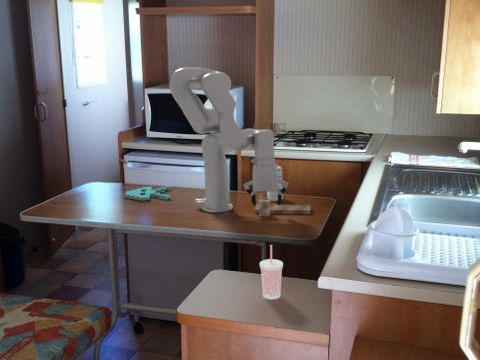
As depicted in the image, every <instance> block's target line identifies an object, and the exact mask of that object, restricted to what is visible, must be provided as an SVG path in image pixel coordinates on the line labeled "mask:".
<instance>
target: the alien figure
mask: <svg viewBox="0 0 480 360" xmlns="http://www.w3.org/2000/svg"><path fill="white" fill-rule="evenodd" d="M166 189H172V188H171V185H167V186H166V185H165V187H164V186H163V187H160V188H155V189H153V187H152V186H142V187H141V188H140V187H138V188H136V189H131V190H127V191H126V192H125V196H130V197H135V198H139V199H145V200H148V199H149V200H150V201H151V197H150V196H155V197H160V198H165V199H170V200H171V195H170V194H164V193H163V194H162V192H161V191H166ZM156 192H161V193H156ZM166 192H167V191H166ZM155 197H154V198H155ZM160 198H159V199H160ZM165 199H164V200H165Z"/></svg>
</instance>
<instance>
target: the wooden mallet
mask: <svg viewBox="0 0 480 360" xmlns="http://www.w3.org/2000/svg"><path fill="white" fill-rule="evenodd" d="M258 204H259V214H258V215H259V217H270V215H271V214H270V205H271V201H270V200H269V199H259V200H258Z"/></svg>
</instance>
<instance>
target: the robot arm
mask: <svg viewBox="0 0 480 360" xmlns="http://www.w3.org/2000/svg"><path fill="white" fill-rule="evenodd" d="M231 87H232V80H231V78H230V76H229V75H228V74H227V73H225V72H224V71H223V72H221V71H217V70H214V69H209V68H206V67H200V66H195V67H193V66H192V67H181V68H179V69H178V68H177V70H175V71H174V72H173V73H172V75H171V77H170V80H169V89H170V93H171V95H172V97H173V99H174V101H176V103H177V104H178V107H179V108H180V109H181V110H182V112H183V115H184V116H185V118H186V119H187V121H188V122H189V124H190V126H191V127H192V129H193V131H194V132H195V133H197V134H201V135H202V134H207V135H205V136H204V137H203V139H202V140H201V141H202V142H201V145H200V146H201V152H202V157H203V165H204V166H203V167H204V187H205V188H204V189H205V190H204V191H205V193H204V194H205V197H204V198H195V202H194V203H195V204H197V205H202V207H201V208H202V210H203V211H204V212H207V213H215V214H216V213H225V212H229V211H231V210H233V206H234V205H233V204H232V203H230V202H229V201H230V199H229V197H230V196H229V195H230V194H229V193H230V192H229V167H228V161H227V158H226V154H228V153H232V152H233V151H238V152H239V151H240V152H241V151H244V150H248V149H251V148H253V149H254V150H253V151H254V158H253V159H250V162H251V163H252V164H254V165H253V167H252V180H249V181H247V182H246V183H244V184H243V187H244V190H246V192H247V193H248V194H249V195H250V196H251V197H250V198H251V204H253V207H256V204H257V198H256V197H257V196H256V193H262V192H266V193H267V192H268V191H276V192H277V193H278V201H277V203H278V204H277V205H281V203H283V200H282V194H284V192H286V190H287V189H288V186H289V182H287V181H285V180H283V179H282V180H281V179H279V176H278V169H277V166H278V165H277V164H276V163H275V144H274V143H275V142H274V141H275V139H274V132H273V130H271V129H265V128H263V129H255V128H244V129H240V127H239V126H238V124H237V123H236V120H235V117H234V112H235V109H236V107H237V102H236V100H235V98H234V96H233V95H232V94H231V92H230V89H231ZM192 89H201V90H202V91H203V93H204V95H205V96H206V98H207V99H208V101H209V102H210V104H211V105H212V108H207V107H205V106H204V104H203V102H202V100H201V99H200V97H199V96H198V95H197V94H196V93H194V91H192ZM279 183H281V184H282V187H283V188H282V189H281V190H280V189H279ZM251 185H252V190H251V188H250V186H251Z"/></svg>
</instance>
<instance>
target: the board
mask: <svg viewBox="0 0 480 360" xmlns="http://www.w3.org/2000/svg"><path fill="white" fill-rule="evenodd" d="M254 207H255V208H254V214H255V215H256V214H257V215H259V203H256V206H254ZM271 214H272V215H311V204H280V205H278V204H270V215H271Z"/></svg>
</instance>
